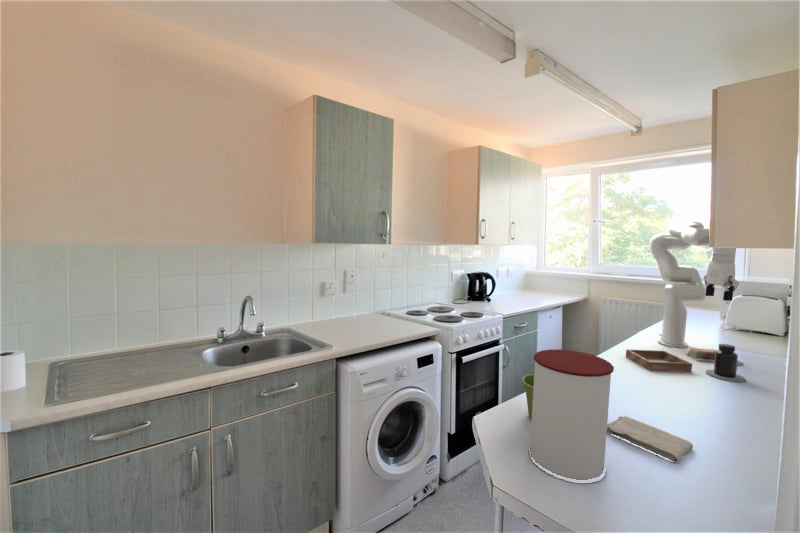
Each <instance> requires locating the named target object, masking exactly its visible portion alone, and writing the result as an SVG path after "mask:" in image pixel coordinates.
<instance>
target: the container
mask: <svg viewBox="0 0 800 533" xmlns="http://www.w3.org/2000/svg"><path fill="white" fill-rule="evenodd" d="M533 360H534V373H533V374H534V386H533V404H532V419H531V426H530V430H531V431H530V443H529V448H530V452H531V454H530V455H531V457H533V459H534V460H535V462H536V463H538V464H539V465H541V466H542V467H543V468H545V469H547V470H549V471H551V472H552V473H555V474H557V475H560V476H563V477H566V478H571V479H576V480H588V479H592V478H596V477H599V476H600V475H601V474H602V473H603V470H604V464H605V459H606V458H605V457H606V448H607V447H606V445H607V434H608V433H607V425H608V419H609V404H610V393H611V392H610V391H611V390H610V389H611V379H612V373H614V369H615V367H614V365H613V364H612V363H611V362H609V361H608V360H606V359H604V358H601V357H599V356H596V355H593V354H589V353H586V352H581V351H576V350H571V349H570V350H569V349H543V350H540V351H537V352H536V353H535V354H534V355H533Z"/></svg>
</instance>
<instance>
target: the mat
mask: <svg viewBox="0 0 800 533" xmlns="http://www.w3.org/2000/svg"><path fill="white" fill-rule="evenodd" d="M705 374H706V375H708V376H709V377H711V378H715V379H718V380H721V381H726V382H732V383H744V382H746V378H745V377H744V376H743V375H740V374H737V373H736V377H724V376H720V375H717V374H715V373H714V369H706V370H705Z"/></svg>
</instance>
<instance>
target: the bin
mask: <svg viewBox="0 0 800 533" xmlns="http://www.w3.org/2000/svg"><path fill="white" fill-rule="evenodd" d="M625 357H626V359H628V360H630V361H632V362H634V363H635V364H637V365H639V366H640V367H642V368H644V369H646V370H647V371H651V372H652V371H654V372H655V371H656V372H678V373H679V372H681V373H692V370H693V363H691V362H689V361H687V360H685V359H682V358H680V357H679V356H677V355H675V354H673V353H670V352H668V351H665V350H656V349H655V350H652V349H650V350H649V349H628V348H627V349H626V350H625ZM649 359H653V360H654V359H655V360H656V359H658V360H664V361H650V360H649Z"/></svg>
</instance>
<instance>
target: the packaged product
mask: <svg viewBox="0 0 800 533" xmlns="http://www.w3.org/2000/svg"><path fill="white" fill-rule="evenodd" d="M718 350H719V349H718ZM718 350H717V349H707V348H695V347H694V348H693V347H690V348H689V350H688V351H687V352H685V356H687V357H689V358H690V357H691V359H692V360H694V361H695V360H696V362H698V361H699V362H700V363H701V362H702V363H709V364H710V363H712V364H714V362H715V352H716V351H718ZM734 353H736V352H735V351H734ZM738 355H739V354H737V356H738ZM738 357H739V356H738ZM737 366H744V362H743V361H741V360H737Z"/></svg>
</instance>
